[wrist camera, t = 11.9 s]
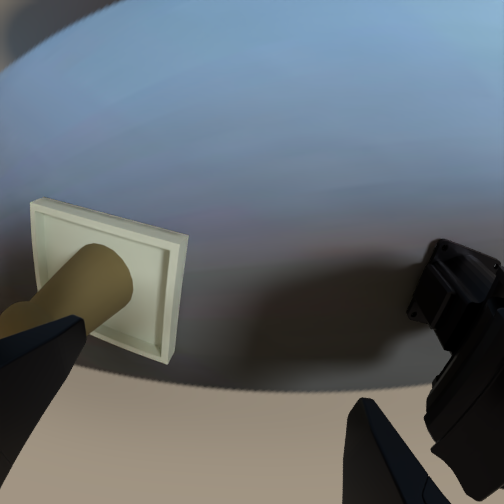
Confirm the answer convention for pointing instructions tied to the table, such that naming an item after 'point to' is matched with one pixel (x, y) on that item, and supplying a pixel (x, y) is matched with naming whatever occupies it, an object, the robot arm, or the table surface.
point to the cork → (75, 293)
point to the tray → (136, 259)
